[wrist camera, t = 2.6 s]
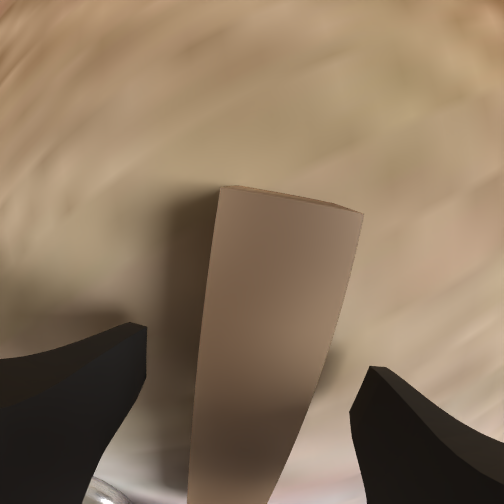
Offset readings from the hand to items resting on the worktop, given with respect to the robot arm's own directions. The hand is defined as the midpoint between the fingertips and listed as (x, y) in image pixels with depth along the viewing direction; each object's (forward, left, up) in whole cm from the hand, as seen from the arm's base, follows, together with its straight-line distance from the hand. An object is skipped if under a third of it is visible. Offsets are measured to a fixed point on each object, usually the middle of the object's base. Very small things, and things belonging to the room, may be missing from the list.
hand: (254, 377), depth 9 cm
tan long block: (0, +2, -2) cm, 3 cm away
